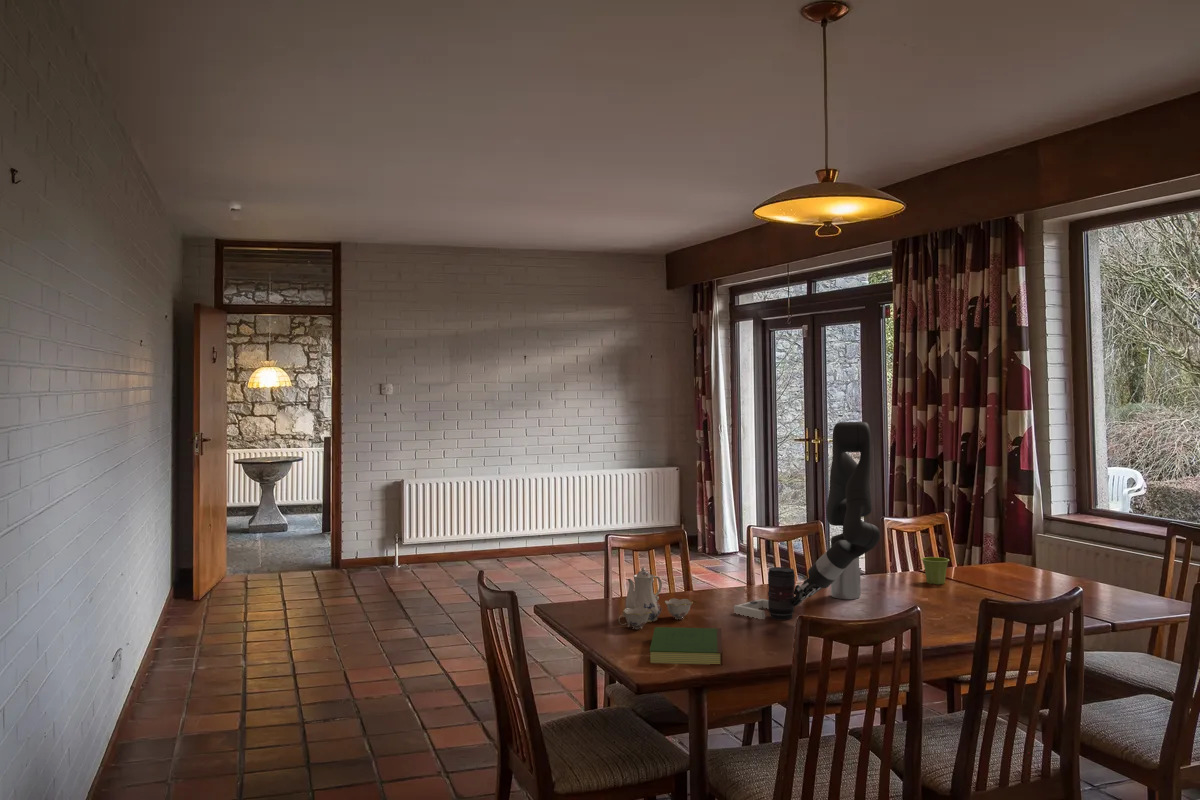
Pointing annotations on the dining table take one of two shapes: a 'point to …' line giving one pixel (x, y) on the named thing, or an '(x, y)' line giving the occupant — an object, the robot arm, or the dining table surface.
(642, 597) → the chinaware
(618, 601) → the dining table surface
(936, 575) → the plant pot
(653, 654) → the hardcover book
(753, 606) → the mount cradle
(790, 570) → the camera lens
